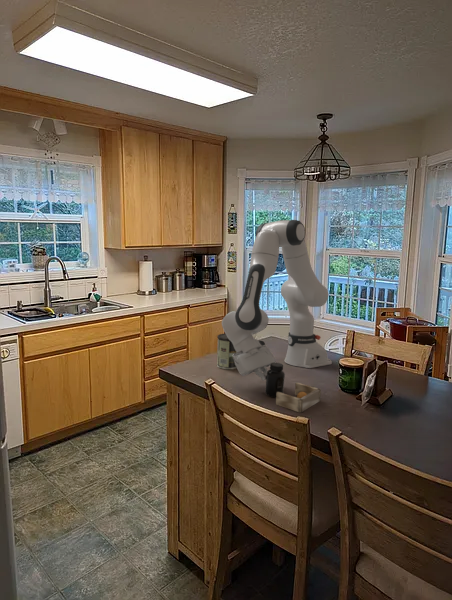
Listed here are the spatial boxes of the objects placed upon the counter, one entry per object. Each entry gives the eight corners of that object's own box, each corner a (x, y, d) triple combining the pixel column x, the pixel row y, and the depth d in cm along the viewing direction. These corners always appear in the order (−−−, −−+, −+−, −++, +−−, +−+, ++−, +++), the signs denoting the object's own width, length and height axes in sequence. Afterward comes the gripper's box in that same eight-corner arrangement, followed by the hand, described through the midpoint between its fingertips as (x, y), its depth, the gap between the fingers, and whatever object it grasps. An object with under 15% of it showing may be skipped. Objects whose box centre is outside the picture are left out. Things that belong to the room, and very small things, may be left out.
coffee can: (239, 362, 202) (240, 333, 199) (239, 370, 191) (240, 339, 189) (217, 361, 202) (217, 332, 199) (216, 369, 192) (217, 338, 189)
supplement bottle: (281, 391, 168) (285, 362, 165) (283, 398, 161) (287, 368, 159) (264, 389, 168) (267, 360, 165) (265, 397, 161) (268, 367, 159)
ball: (306, 401, 160) (302, 390, 160) (311, 400, 156) (307, 390, 157) (296, 404, 158) (293, 393, 159) (301, 404, 155) (298, 393, 155)
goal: (275, 404, 155) (276, 392, 155) (296, 393, 166) (297, 382, 166) (300, 412, 149) (301, 400, 148) (320, 400, 160) (321, 389, 159)
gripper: (235, 349, 160) (255, 381, 156) (267, 340, 176) (285, 369, 171) (226, 358, 164) (244, 389, 159) (257, 348, 179) (275, 376, 175)
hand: (266, 379), depth 165 cm, fingers closed, pressing on supplement bottle
